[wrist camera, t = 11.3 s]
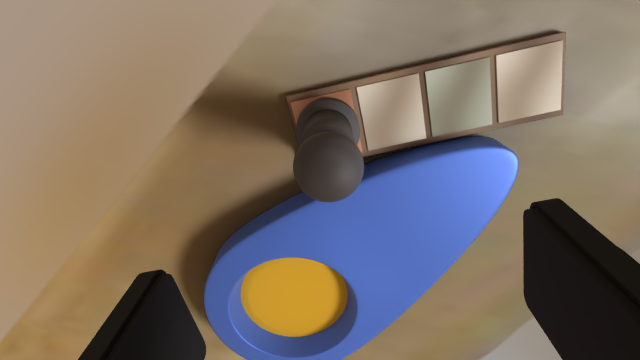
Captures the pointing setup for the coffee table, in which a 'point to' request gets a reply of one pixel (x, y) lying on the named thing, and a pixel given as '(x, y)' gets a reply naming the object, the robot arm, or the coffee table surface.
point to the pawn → (328, 150)
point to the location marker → (354, 252)
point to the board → (452, 95)
